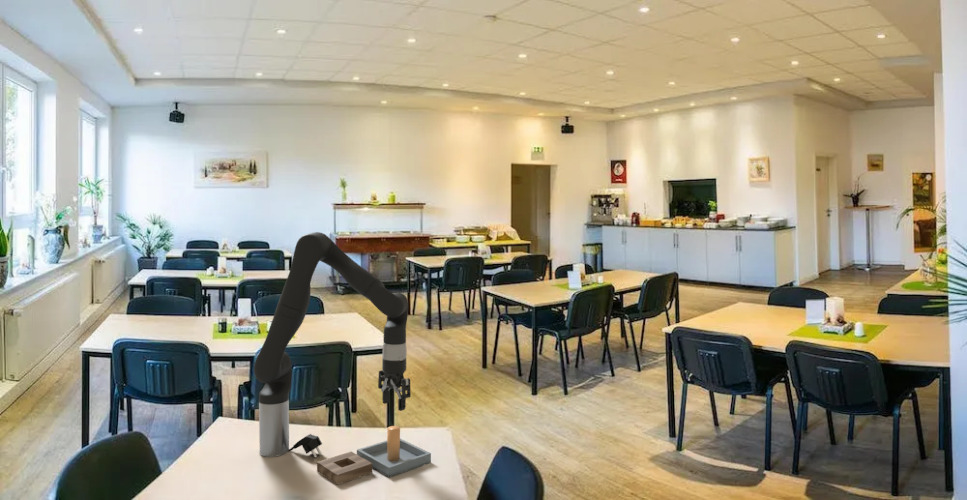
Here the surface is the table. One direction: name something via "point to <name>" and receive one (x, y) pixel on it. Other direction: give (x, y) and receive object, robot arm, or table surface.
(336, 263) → the robot arm
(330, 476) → the wooden square hole block
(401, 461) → the slate tray
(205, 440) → the table surface
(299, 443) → the power plug
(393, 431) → the orange plug
